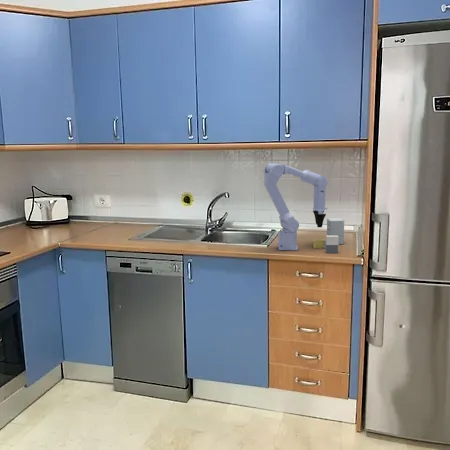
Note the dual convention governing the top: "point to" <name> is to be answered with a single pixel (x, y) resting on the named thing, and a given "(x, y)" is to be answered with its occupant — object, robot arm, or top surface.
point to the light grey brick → (332, 239)
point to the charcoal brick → (331, 248)
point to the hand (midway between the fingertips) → (318, 225)
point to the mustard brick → (318, 243)
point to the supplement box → (336, 228)
